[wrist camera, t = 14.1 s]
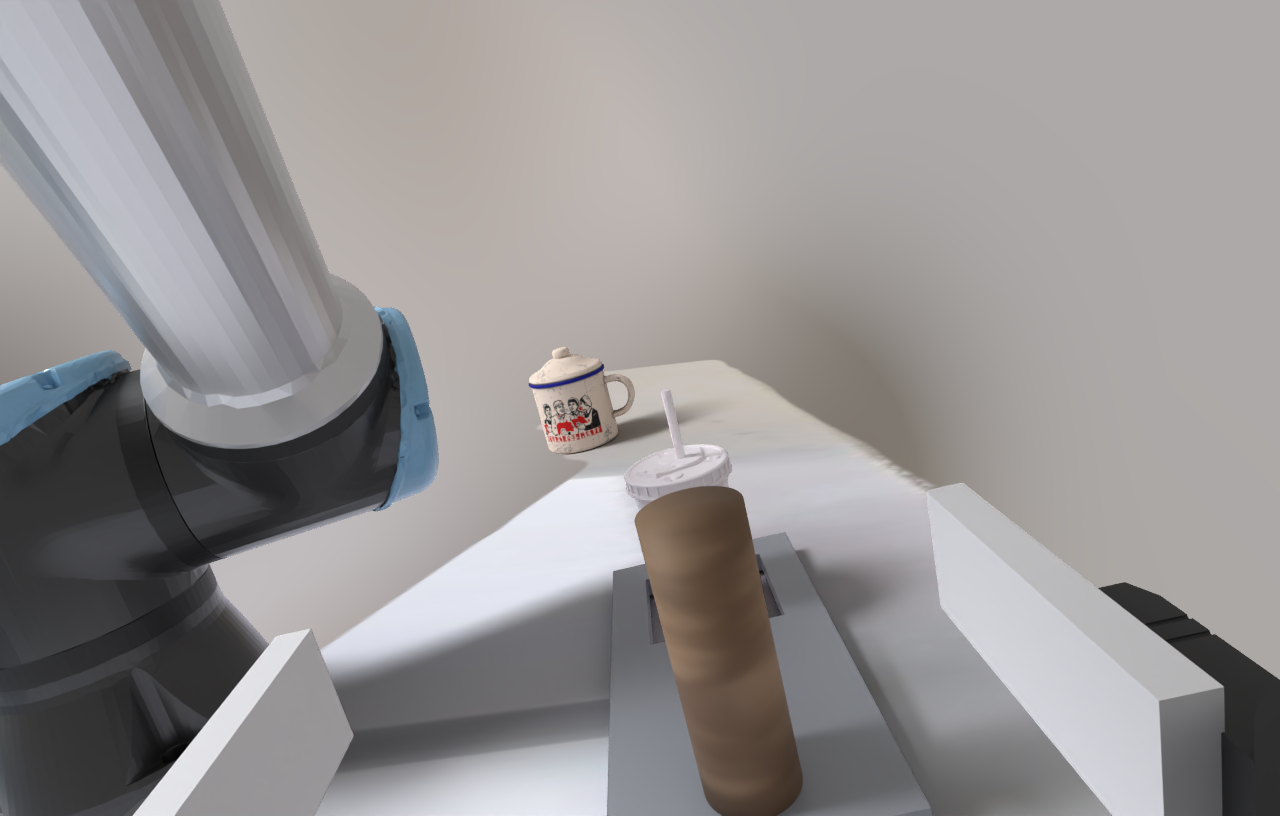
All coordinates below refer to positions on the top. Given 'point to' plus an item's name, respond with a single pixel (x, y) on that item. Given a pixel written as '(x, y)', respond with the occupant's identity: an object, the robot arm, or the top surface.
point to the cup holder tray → (738, 681)
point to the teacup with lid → (576, 402)
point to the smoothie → (676, 465)
